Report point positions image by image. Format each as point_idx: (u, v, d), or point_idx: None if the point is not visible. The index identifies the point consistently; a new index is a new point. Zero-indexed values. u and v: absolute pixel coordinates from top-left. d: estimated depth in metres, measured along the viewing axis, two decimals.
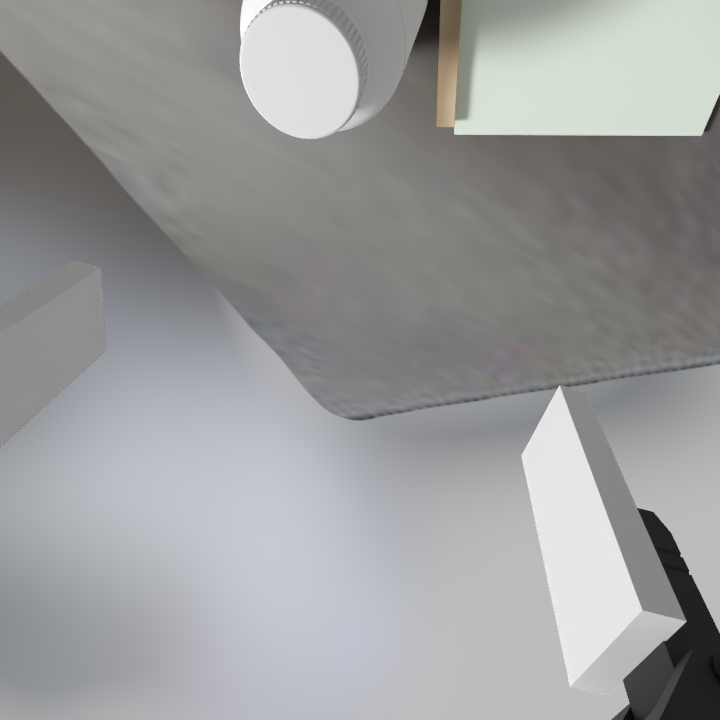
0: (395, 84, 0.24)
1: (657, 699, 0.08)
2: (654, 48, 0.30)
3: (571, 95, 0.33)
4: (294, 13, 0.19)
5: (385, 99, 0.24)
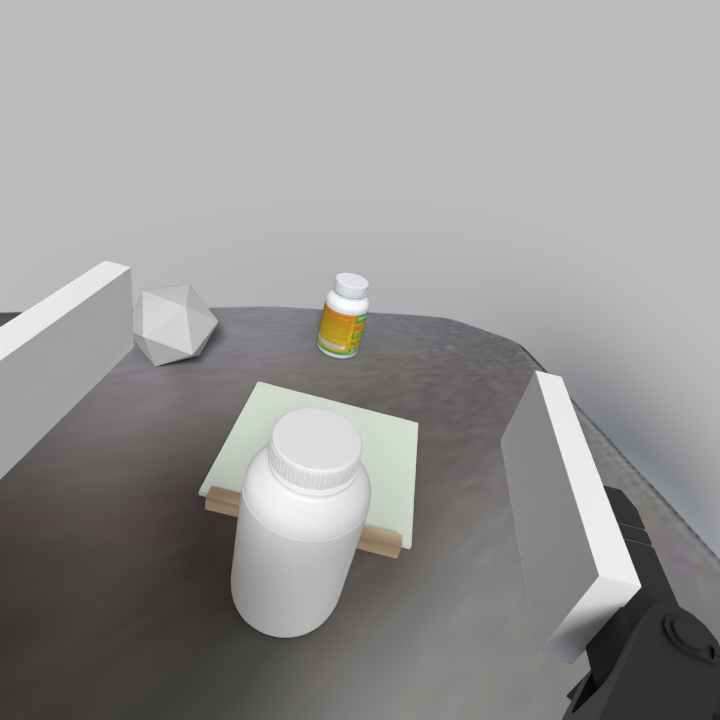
0: None
1: (615, 664, 0.09)
2: (366, 438, 0.51)
3: (388, 473, 0.47)
4: (279, 424, 0.29)
5: None
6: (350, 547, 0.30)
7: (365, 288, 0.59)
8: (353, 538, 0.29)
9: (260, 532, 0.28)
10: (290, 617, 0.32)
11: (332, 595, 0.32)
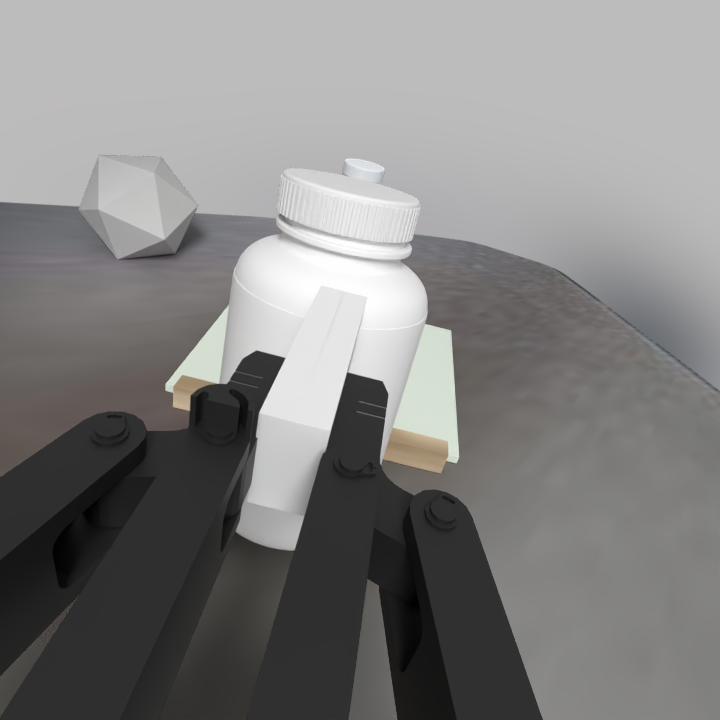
0: None
1: None
2: None
3: (419, 378, 0.36)
4: (294, 169, 0.19)
5: None
6: (400, 372, 0.19)
7: (381, 173, 0.48)
8: (406, 352, 0.19)
9: (262, 323, 0.17)
10: None
11: None
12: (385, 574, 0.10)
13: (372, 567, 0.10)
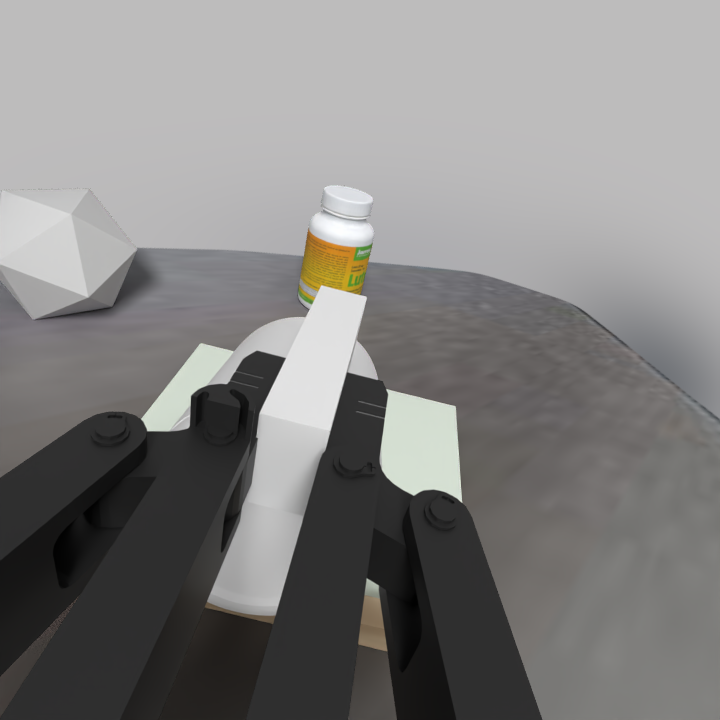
0: None
1: None
2: None
3: (415, 490, 0.27)
4: None
5: None
6: None
7: (368, 204, 0.39)
8: (374, 372, 0.24)
9: (272, 324, 0.24)
10: None
11: None
12: (385, 574, 0.10)
13: (371, 566, 0.10)
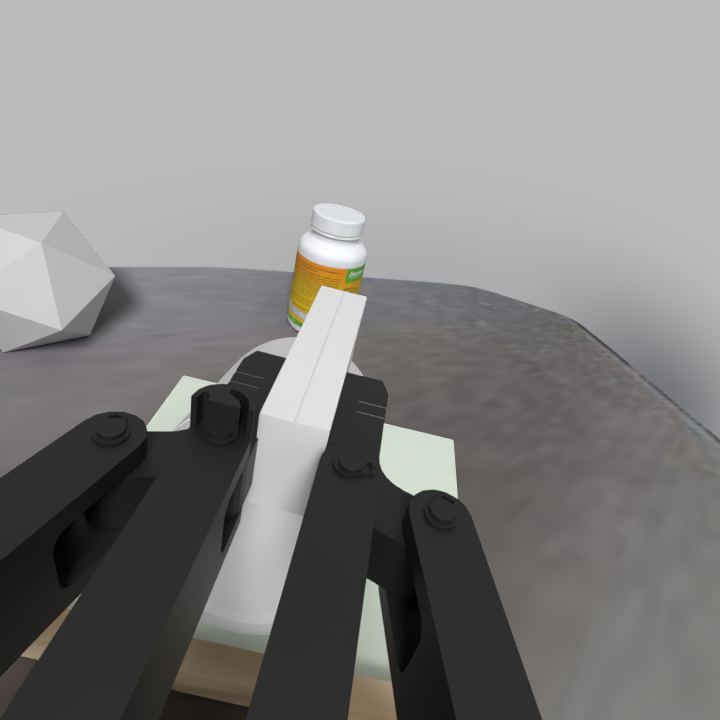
0: None
1: None
2: None
3: None
4: None
5: None
6: None
7: (360, 224, 0.37)
8: None
9: (266, 344, 0.24)
10: None
11: None
12: (385, 573, 0.10)
13: (371, 566, 0.10)
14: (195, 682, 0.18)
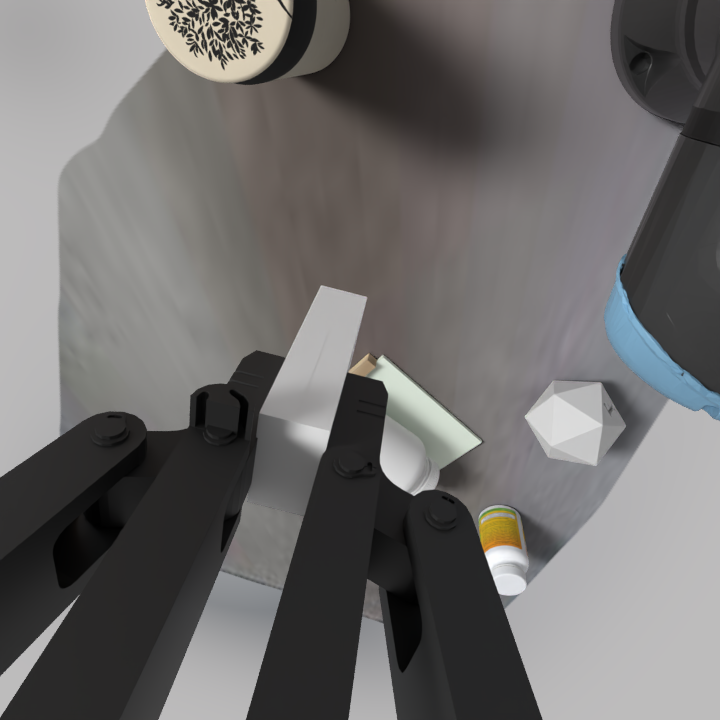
0: None
1: None
2: None
3: None
4: None
5: None
6: None
7: None
8: None
9: (411, 468, 0.53)
10: None
11: None
12: (385, 573, 0.10)
13: (372, 566, 0.10)
14: None
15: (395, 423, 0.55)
